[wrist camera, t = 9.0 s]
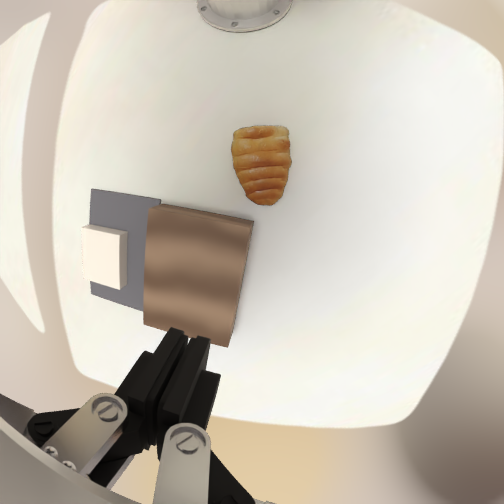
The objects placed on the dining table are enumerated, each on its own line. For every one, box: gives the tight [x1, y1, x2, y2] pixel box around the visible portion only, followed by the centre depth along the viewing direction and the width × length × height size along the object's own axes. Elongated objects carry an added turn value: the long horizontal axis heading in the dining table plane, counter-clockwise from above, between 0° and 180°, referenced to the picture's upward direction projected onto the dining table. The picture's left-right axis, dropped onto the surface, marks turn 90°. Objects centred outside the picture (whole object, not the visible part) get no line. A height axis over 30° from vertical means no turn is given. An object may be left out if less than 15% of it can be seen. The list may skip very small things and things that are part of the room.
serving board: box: [143, 204, 254, 348], centre depth 34 cm, size 16×12×4 cm
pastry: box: [231, 126, 292, 205], centre depth 30 cm, size 9×7×4 cm
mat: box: [89, 189, 161, 311], centre depth 36 cm, size 17×12×1 cm
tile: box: [81, 224, 128, 290], centre depth 36 cm, size 8×7×2 cm
